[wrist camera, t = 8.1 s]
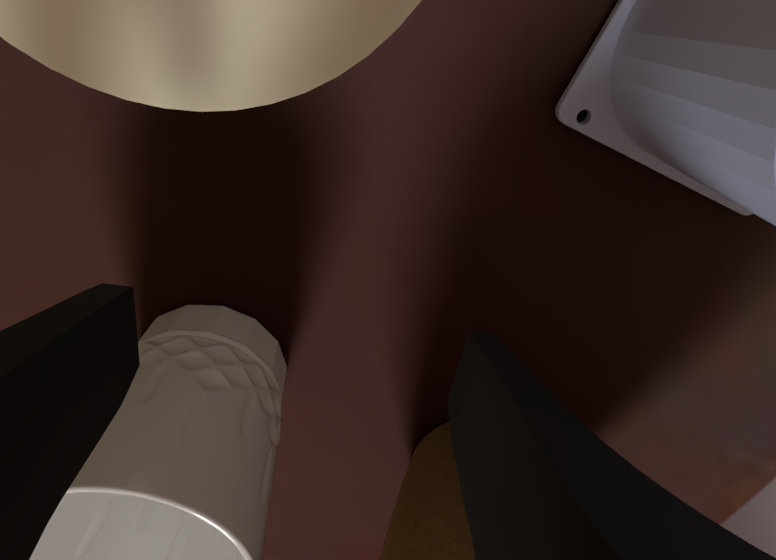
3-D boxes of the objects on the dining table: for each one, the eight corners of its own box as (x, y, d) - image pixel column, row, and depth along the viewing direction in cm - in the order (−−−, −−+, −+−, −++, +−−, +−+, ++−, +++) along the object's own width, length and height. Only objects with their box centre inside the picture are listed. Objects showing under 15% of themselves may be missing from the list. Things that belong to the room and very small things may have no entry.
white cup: (317, 412, 25) (287, 630, 17) (166, 434, 26) (61, 658, 17) (272, 276, 21) (204, 468, 13) (96, 306, 22) (-86, 510, 13)
